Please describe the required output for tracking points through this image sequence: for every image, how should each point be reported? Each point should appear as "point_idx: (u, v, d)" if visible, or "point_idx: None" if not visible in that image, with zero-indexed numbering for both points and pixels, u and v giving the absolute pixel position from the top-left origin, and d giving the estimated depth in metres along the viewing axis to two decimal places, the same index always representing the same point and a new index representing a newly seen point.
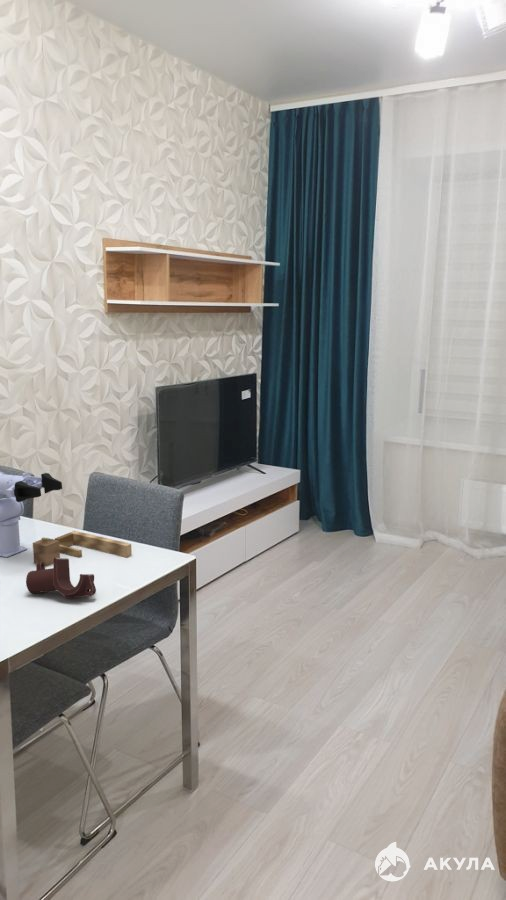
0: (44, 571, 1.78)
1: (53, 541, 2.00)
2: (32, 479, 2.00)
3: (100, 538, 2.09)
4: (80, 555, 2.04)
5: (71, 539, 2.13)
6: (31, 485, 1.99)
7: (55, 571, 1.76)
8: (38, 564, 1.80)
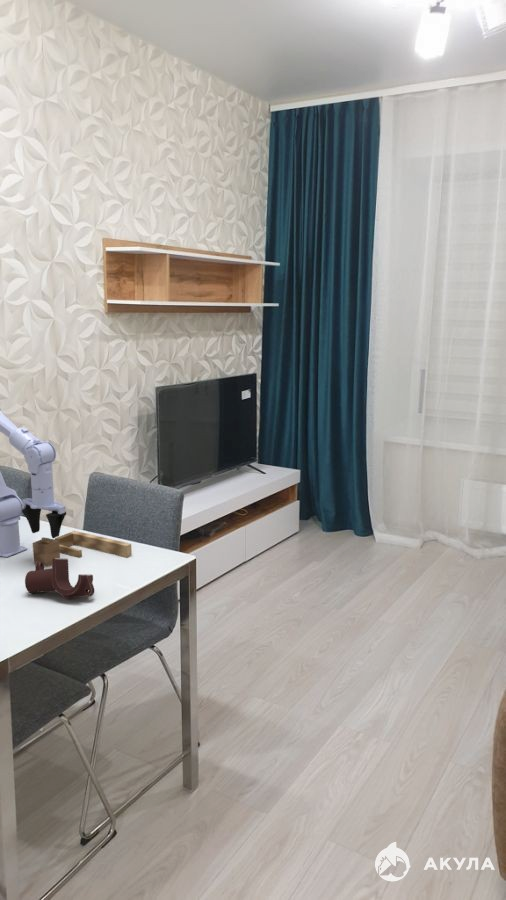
0: (42, 571, 1.78)
1: (53, 541, 2.00)
2: None
3: (100, 538, 2.09)
4: (80, 555, 2.04)
5: (71, 539, 2.13)
6: None
7: (54, 571, 1.76)
8: (37, 564, 1.80)
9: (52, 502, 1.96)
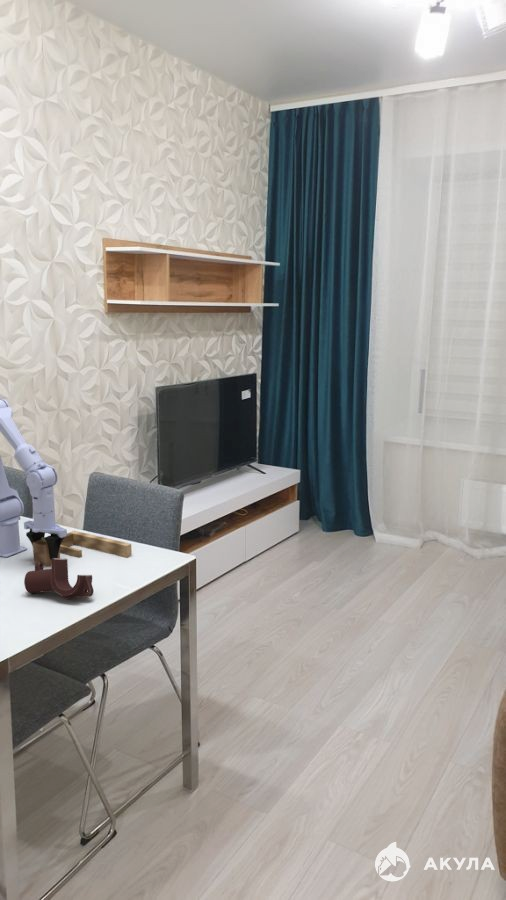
0: (42, 571, 1.78)
1: None
2: None
3: (100, 538, 2.09)
4: (80, 555, 2.04)
5: (71, 539, 2.13)
6: None
7: (53, 572, 1.76)
8: (36, 564, 1.80)
9: (53, 525, 1.98)
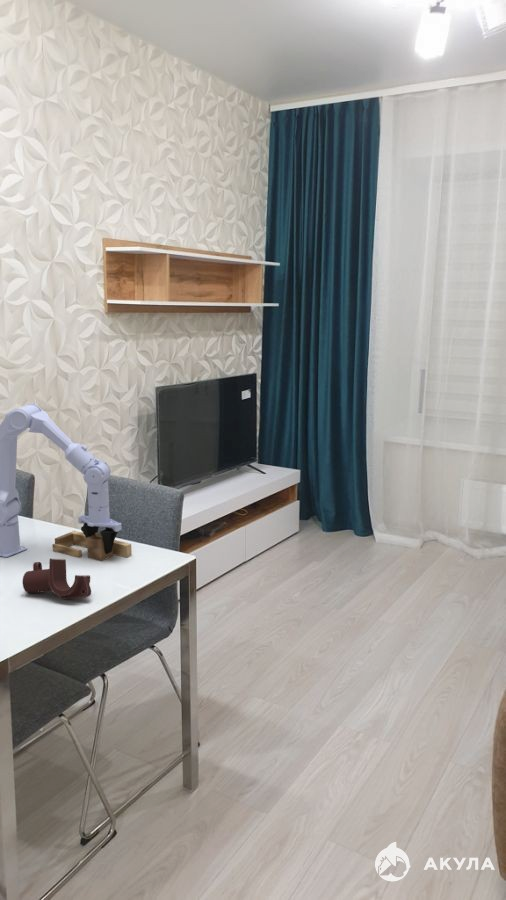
0: (40, 571, 1.78)
1: None
2: None
3: None
4: (80, 555, 2.04)
5: (71, 539, 2.13)
6: (99, 525, 2.03)
7: (51, 572, 1.76)
8: (35, 564, 1.80)
9: (108, 520, 2.02)
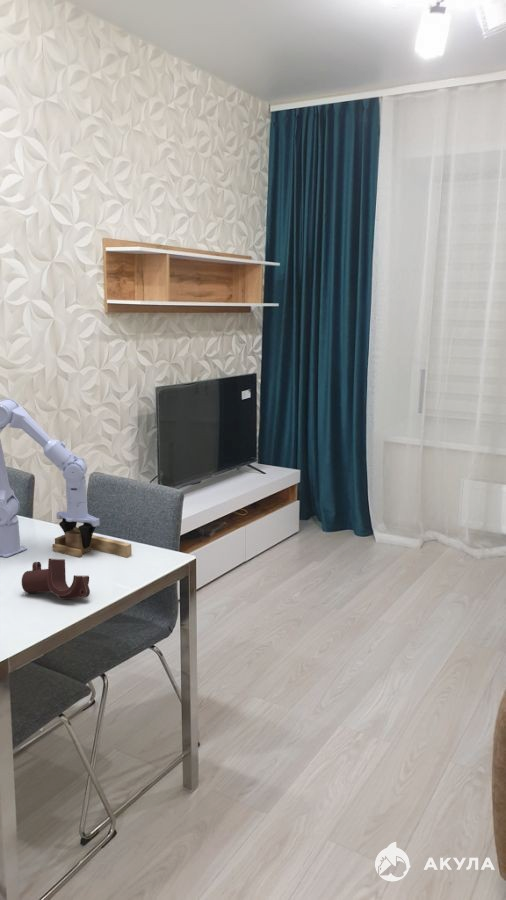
0: (39, 571, 1.78)
1: None
2: None
3: (100, 538, 2.09)
4: (80, 555, 2.04)
5: None
6: None
7: (50, 572, 1.76)
8: (34, 564, 1.80)
9: (86, 515, 2.06)
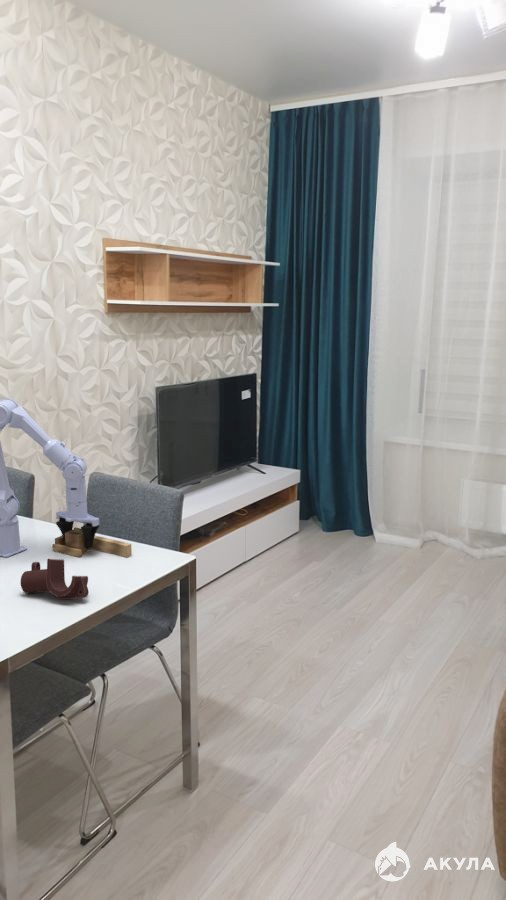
0: (38, 571, 1.78)
1: None
2: None
3: (100, 538, 2.09)
4: (80, 555, 2.04)
5: None
6: (77, 520, 2.07)
7: (48, 572, 1.76)
8: (33, 564, 1.80)
9: (86, 515, 2.06)
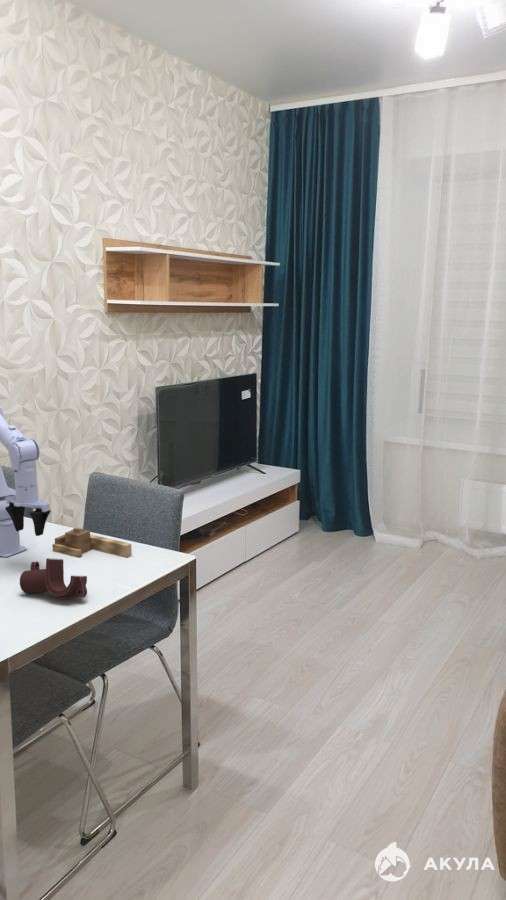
0: (37, 571, 1.78)
1: (84, 531, 2.08)
2: None
3: (100, 538, 2.09)
4: (80, 555, 2.04)
5: None
6: None
7: (47, 572, 1.76)
8: (32, 564, 1.80)
9: (36, 500, 1.94)
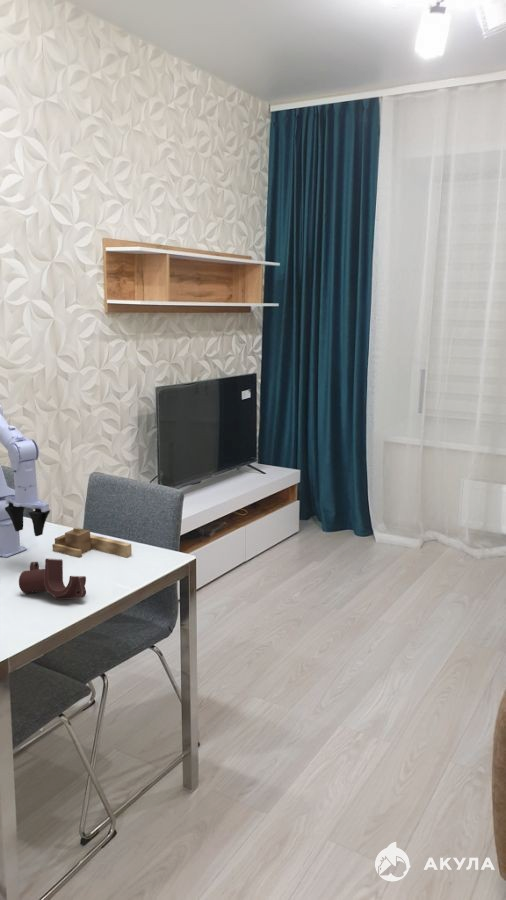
0: (36, 571, 1.78)
1: (84, 531, 2.08)
2: None
3: (100, 538, 2.09)
4: (80, 555, 2.04)
5: None
6: None
7: (46, 572, 1.76)
8: (32, 564, 1.80)
9: (35, 500, 1.94)
